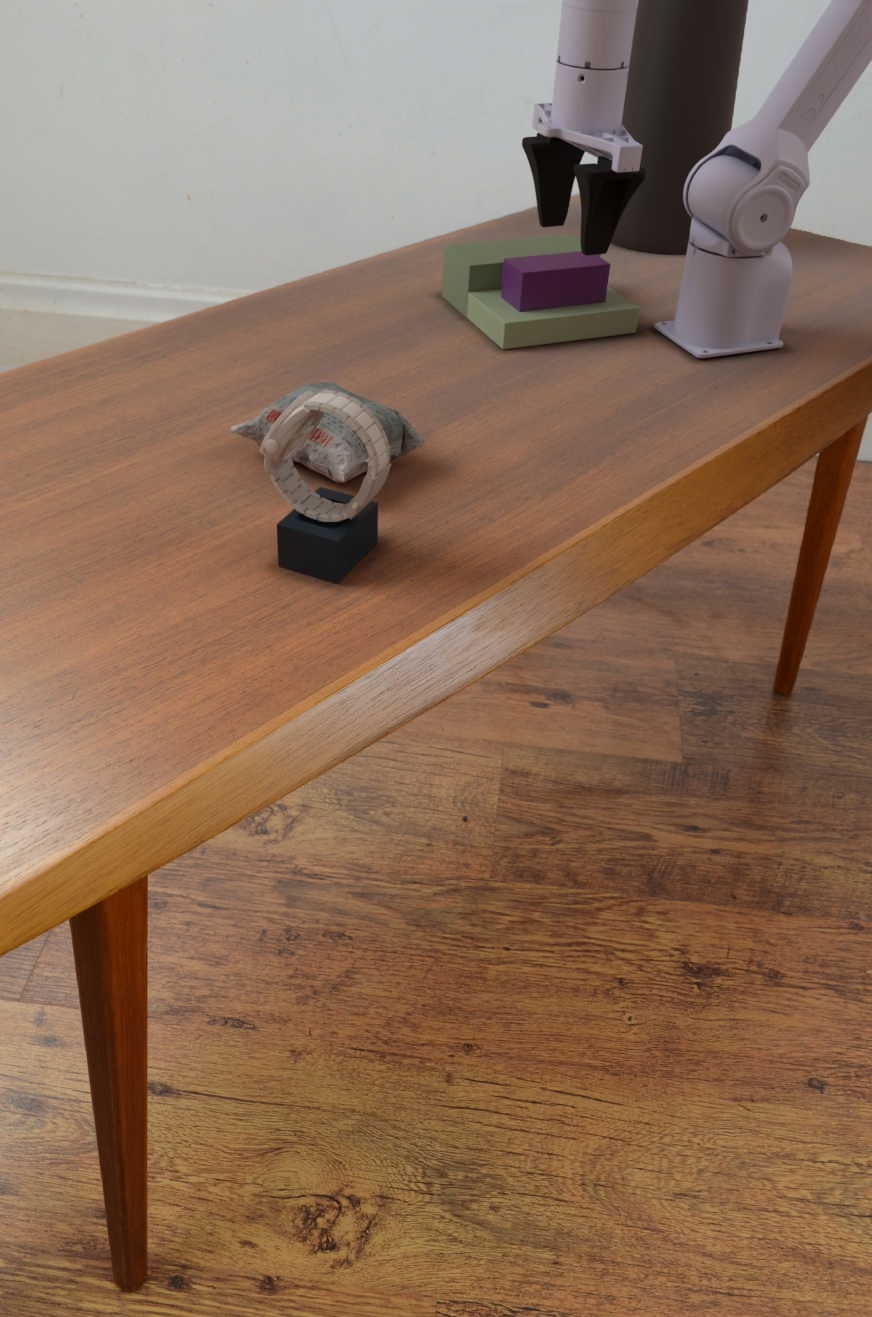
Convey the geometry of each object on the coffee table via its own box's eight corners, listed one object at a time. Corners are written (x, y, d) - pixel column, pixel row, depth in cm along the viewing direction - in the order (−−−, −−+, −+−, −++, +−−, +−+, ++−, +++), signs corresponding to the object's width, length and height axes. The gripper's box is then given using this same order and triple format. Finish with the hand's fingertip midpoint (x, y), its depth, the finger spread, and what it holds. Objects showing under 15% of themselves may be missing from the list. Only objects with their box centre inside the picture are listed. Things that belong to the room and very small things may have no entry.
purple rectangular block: (584, 287, 110) (589, 249, 108) (605, 302, 107) (610, 263, 105) (500, 296, 107) (503, 258, 105) (519, 312, 104) (523, 272, 102)
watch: (295, 520, 78) (290, 367, 72) (401, 550, 76) (406, 394, 69) (251, 558, 74) (241, 400, 68) (362, 592, 72) (363, 431, 65)
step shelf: (566, 282, 118) (571, 233, 115) (636, 332, 108) (644, 280, 105) (441, 296, 114) (443, 244, 111) (502, 349, 104) (507, 295, 101)
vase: (593, 246, 128) (632, -58, 111) (600, 211, 139) (636, -71, 121) (717, 259, 127) (776, -48, 109) (714, 222, 137) (767, -62, 120)
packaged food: (343, 510, 80) (344, 445, 77) (229, 453, 85) (225, 390, 83) (426, 469, 85) (429, 407, 82) (313, 418, 91) (312, 359, 88)
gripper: (506, 46, 94) (493, 217, 102) (593, 84, 83) (571, 270, 92) (582, 44, 96) (563, 211, 104) (676, 80, 86) (647, 263, 94)
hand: (572, 238), depth 98 cm, fingers open, 7 cm apart
